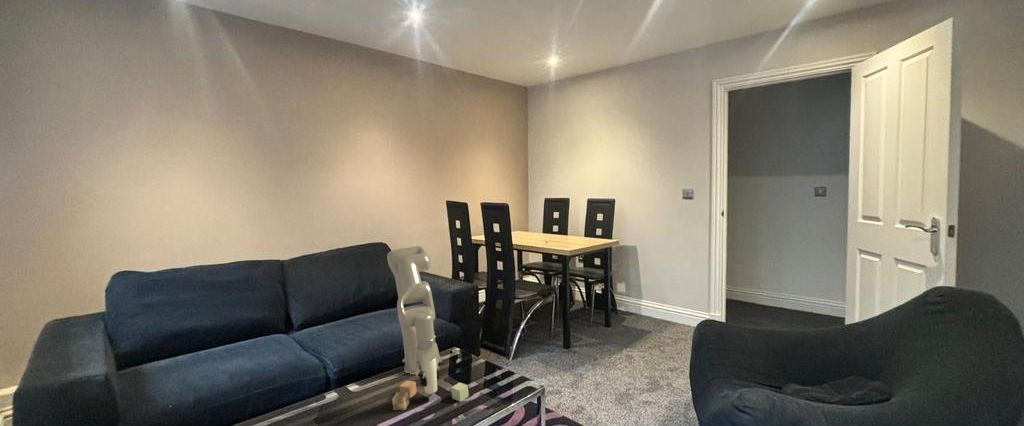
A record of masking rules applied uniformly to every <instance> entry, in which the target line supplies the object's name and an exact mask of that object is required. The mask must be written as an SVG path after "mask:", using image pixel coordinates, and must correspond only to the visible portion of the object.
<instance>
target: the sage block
mask: <svg viewBox="0 0 1024 426" xmlns="http://www.w3.org/2000/svg"><path fill="white" fill-rule="evenodd" d="M450 391H451V398H452V400H456V401H457V402H462V401H464V400H465V399H467V398H468V397H469V396H470V395H469V385H467V384H466V383H462V382H458V383H456V384H454V385H453V386H452V387H450Z"/></svg>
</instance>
